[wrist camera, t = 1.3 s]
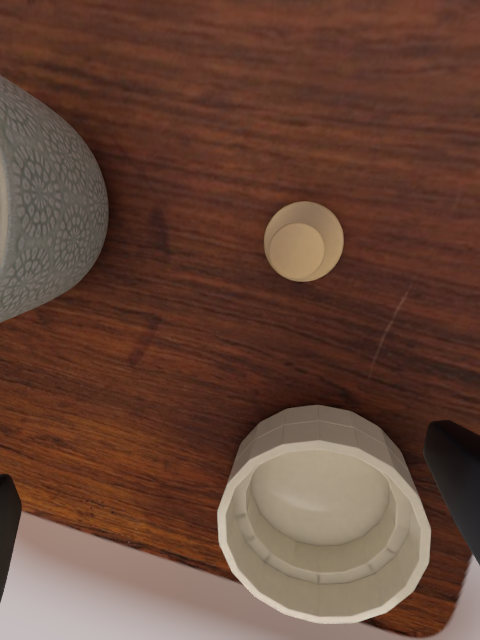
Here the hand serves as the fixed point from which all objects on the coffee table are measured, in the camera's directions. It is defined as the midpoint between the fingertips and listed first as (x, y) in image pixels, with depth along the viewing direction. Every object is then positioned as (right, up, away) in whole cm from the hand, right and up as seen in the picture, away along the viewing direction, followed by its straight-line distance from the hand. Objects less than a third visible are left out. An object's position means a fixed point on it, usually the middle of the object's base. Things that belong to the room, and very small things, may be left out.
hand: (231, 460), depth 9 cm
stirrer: (+4, +8, +15) cm, 17 cm away
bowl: (+5, -7, +18) cm, 20 cm away
